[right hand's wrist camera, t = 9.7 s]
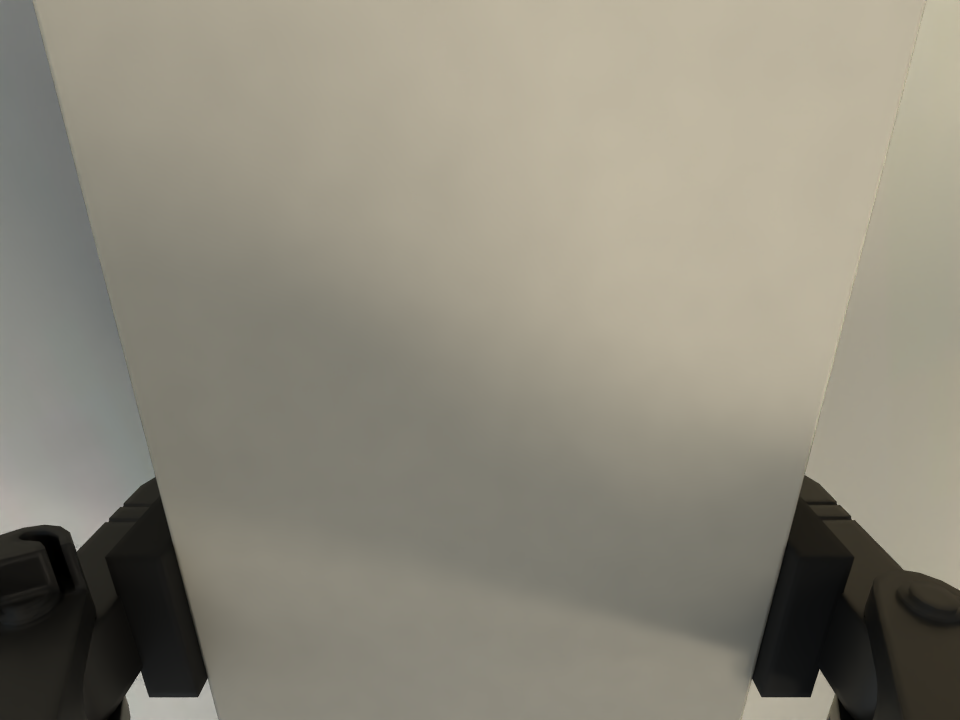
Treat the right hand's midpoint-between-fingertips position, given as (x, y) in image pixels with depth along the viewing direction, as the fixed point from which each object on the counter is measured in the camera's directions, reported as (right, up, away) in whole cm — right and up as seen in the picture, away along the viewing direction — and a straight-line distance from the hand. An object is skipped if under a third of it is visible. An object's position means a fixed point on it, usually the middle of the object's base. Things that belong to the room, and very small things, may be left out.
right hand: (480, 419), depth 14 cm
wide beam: (0, +23, -9) cm, 25 cm away
